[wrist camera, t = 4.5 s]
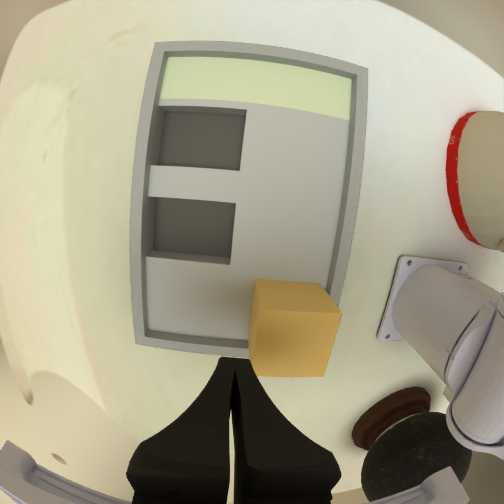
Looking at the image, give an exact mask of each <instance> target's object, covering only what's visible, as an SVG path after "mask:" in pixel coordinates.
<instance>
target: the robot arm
mask: <svg viewBox="0 0 504 504" xmlns="http://www.w3.org/2000/svg"><path fill="white" fill-rule="evenodd" d="M409 260H410V262H409V264H407V262H408V261H409ZM468 269H469V266H468V264H466V263H461V262H453V261H445V260H438V259H430V258H422V257H413V256H405V255H404V256H401V257H400V258H399V261H398V265H397V269H396V273H395V277H394V281H393V285H392V289H391V292H390V296H389V300H388V303H387V306H386V310H385V313H384V316H383V319H382V323H381V326H380V329H379V332H378V335H377V338H378V339H379V340H380V341H392V340H407V342H408V343H409V344H410V345H411V346H412V347H413V348H414V349H415V350H416V351H417V352H418V353H419V355H420V356H421V357H422V358H423V359H424V360H425V361H426V362H427V363H428V365H429V366H430V367H431V368H432V369H433V370H434V371H435V372H436V374H437V375H438V376H439V377H440V378H441V379H442V380H443V382H444V383H445V384H446V388H445V390H444V392H443V395H444V396H445V397H446V398H447V400H448V401H449V402H450V404H449V406H448V408H447V411H446V422H447V426H448V428H449V430H450V432H451V434H452V435H453V437H454V438H455V439H456V440H457V441H458V442H459V443H460V444H461V445H463V446H464V447H466V448H468V449H470V450H474V451H479V452H487V453H491V454H494V455H496V456H498V457H499V458H501V459H503V460H504V292H503V293H500V292H498V291H496V290H494V289H493V288H491V287H489V286H487V285H485V284H483V283H482V282H480V281H478V280H476V279H474V278H472V277H470V276H469V275H467V273H468ZM387 334H388V336H386V335H387ZM230 411H231V413H232V425H233V436H234V449H235V462H234V504H331V502H330V501H331V500H332V494H331V490H332V489H333V487H334V486H335V485H336V484H337V483H338V481H339V480H340V478H341V471H340V468H339V465H338V463H337V461H336V459H335V457H334V455H333V453H332V452H330V451H328V450H327V449H325V448H323V447H322V446H320V445H318V444H316V443H315V442H313V441H312V440H311V439H309V438H308V437H306V436H305V435H304V434H303V433H302V432H300V431H299V430H298V429H297V428H296V427H295V426H294V425H292V424H291V423H290V422H289V421H288V420H287V419H286V418H285V417H284V415H283V414H282V413H281V412H280V411H279V410H278V408H277V407H276V406H275V405H274V403H273V402H272V401H271V399H270V398H269V396H268V395H267V393H266V392H265V390H264V388H263V387H262V385H261V383H260V382H259V380H258V378H257V376H256V374H255V371H254V369H253V367H252V364H251V361H250V360H249V359H242V358H229V357H221V358H219V361H218V364H217V366H216V369H215V371H214V373H213V375H212V376H211V378H210V380H209V381H208V383H207V385H206V386H205V388H204V389H203V390H202V392H201V393H200V394H199V396H198V397H197V398H196V400H195V401H194V402H193V403H192V404H191V405H190V406H189V407H188V409H187V410H186V411H184V412H183V413H182V414H181V415H180V416H179V417H178V418H177V419H176V420H175V421H173V422H172V423H171V424H170V425H168V426H167V427H166V428H164V429H163V430H161V431H160V432H159V433H157V434H155V435H154V436H152V437H150V438H148V439H147V440H145V441H143V442H141V443H140V444H139V446H138V447H137V449H136V450H135V452H134V454H133V456H132V458H131V460H130V462H129V466H128V469H127V472H126V475H127V479H128V481H129V482H130V484H131V486H132V487H133V489H134V491H135V492H134V496H133V501H132V502H128V501H125V500H122V499H118V498H115V497H112V496H109V495H106V494H103V493H101V492H98V491H95V490H92V489H90V488H87V487H85V486H82V485H80V484H77V483H75V482H73V481H71V480H68V479H66V478H64V477H62V476H60V475H58V474H56V473H54V472H52V471H50V470H47V469H46V468H44V467H42V466H40V465H38V464H37V463H36V462H35V460H34V459H33V458H32V457H31V455H29V454H28V453H27V452H26V451H24V450H23V449H21V448H20V447H18V446H16V445H15V444H13V443H12V442H10V441H6V443H5V444H4V446H3V447H2V449H1V450H0V489H1V490H2V491H3V492H4V493H5V494H6V495H7V496H8V497H10V498H11V499H12V500H13V501H14V502H16V503H17V504H226V503H227V496H228V489H229V482H230V455H229V418H230ZM468 501H469V497H468V496H467V494H466V492H465V490H464V488H463V487H462V485H461V483H460V481H459V480H458V478H457V476H456V475H455V473H454V471H453V470H452V468H451V466H449V467H447V468H445V469H443V470H441V471H438V472H436V473H434V474H432V475H431V476H429V477H428V478H427V479H425V480H424V481H423V483H422V484H421V485H418V486H416V487H413V488H411V489H408V490H406V491H403V492H400V493H397V494H394V495H391V496H388V497H385V498H382V499H379V500H375V501H372V502H368V503H365V504H466V503H467V502H468Z"/></svg>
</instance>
